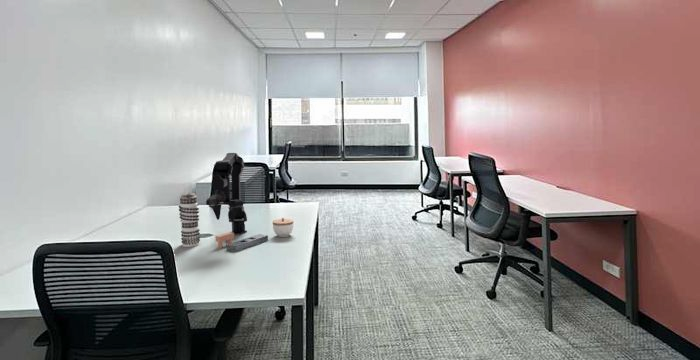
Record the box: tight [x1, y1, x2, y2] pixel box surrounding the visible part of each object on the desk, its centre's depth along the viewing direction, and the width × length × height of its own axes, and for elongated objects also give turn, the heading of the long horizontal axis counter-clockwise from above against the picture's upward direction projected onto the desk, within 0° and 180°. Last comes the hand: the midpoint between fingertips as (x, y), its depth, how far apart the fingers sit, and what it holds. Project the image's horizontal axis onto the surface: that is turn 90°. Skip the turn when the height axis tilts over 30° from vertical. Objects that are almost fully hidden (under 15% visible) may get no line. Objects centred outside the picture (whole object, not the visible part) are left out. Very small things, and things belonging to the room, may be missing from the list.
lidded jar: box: [272, 217, 294, 238], centre depth 221 cm, size 11×11×9 cm
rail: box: [225, 233, 269, 252], centre depth 205 cm, size 6×22×2 cm, turn 150°
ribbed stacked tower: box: [178, 192, 201, 248], centre depth 206 cm, size 9×9×25 cm
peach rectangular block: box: [214, 231, 235, 249], centre depth 204 cm, size 3×9×6 cm, turn 150°
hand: (225, 220), depth 203 cm, fingers open, 9 cm apart
